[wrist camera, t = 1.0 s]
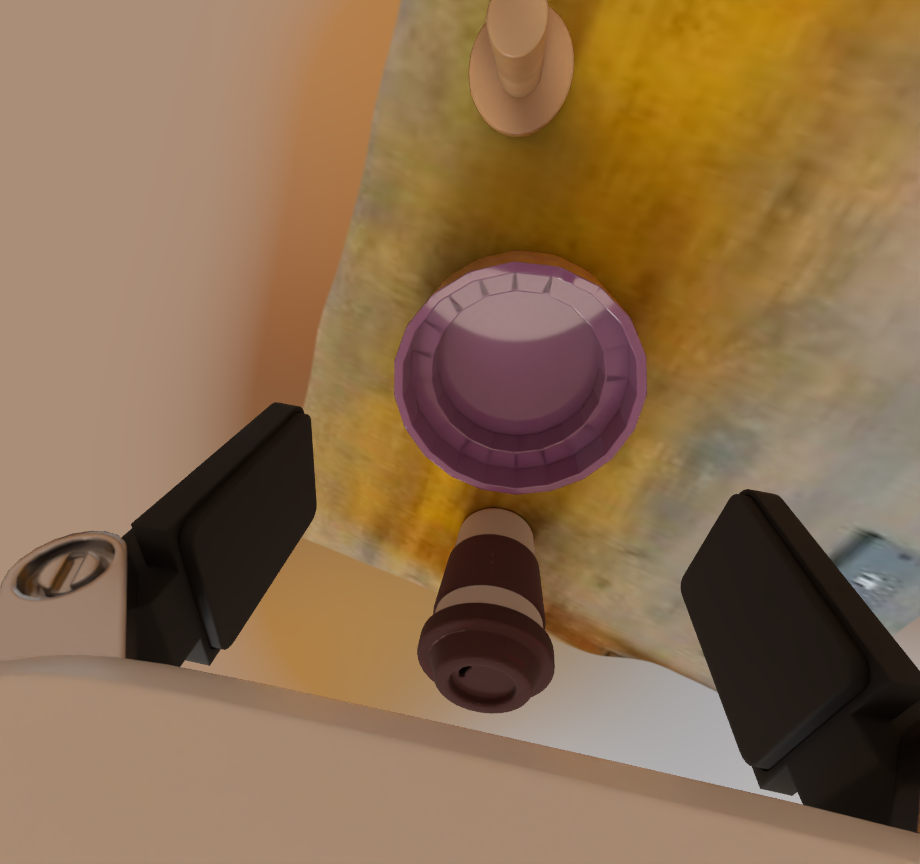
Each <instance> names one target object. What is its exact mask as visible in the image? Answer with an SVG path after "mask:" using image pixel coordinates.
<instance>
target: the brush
mask: <svg viewBox="0 0 920 864" xmlns="http://www.w3.org/2000/svg"><path fill="white" fill-rule="evenodd" d="M573 71H574V50H573V44H572V40H571V37H570V33H569V31H568V29H567V27H566V25H565V23H564V21H563V20H562V18H561V17H560V16H559V15H558V14H557V12H555V11H554V10H553V9H552V8H551V7H549V6H548V1H547V0H490V2H489V6H488V10H487V18H486V23H485V24H484V25H483V27H482V28H481V30H480V32H479V34H478V36H477V38H476V40H475V43H474V45H473V48H472V52H471V56H470V63H469V84H470V91H471V94H472V98H473V101H474V103H475V106H476V108H477V109H478V111H479V113H480V115H481V116H482V118H483V119H484V120H485V122H486V123H487V124H488V125H489V126H490V127H491V128H493V129H494V130H495V131H497V132H499V133H501V134H503V135H506V136H511V137H523V136H528V135H531V134H533V133H536V132H538V131H539V130H541V129H543V128H544V127H545V126H546V125H548V124H549V123H550V122H551V121H552V120H553V118H554V117H555V116H556V115H557V113H558V112H559V110H560V109H561V107H562V105H563V103H564V101H565V99H566V97H567V94H568V91H569V89H570V86H571V82H572V78H573Z"/></svg>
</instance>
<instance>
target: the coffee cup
mask: <svg viewBox="0 0 920 864" xmlns="http://www.w3.org/2000/svg"><path fill="white" fill-rule="evenodd" d="M417 655H418V660H419V663H420V665H421V667H422V669H423V671H424V672H425V673H426V674H427V676H428V677H429V678H430V679H431V680H432V681H434V682H435V684H436V687H437V688H438V690H439V691H440V693H441V694H442V695H443V696H444V697H446V698H447V699H448V700H449V701H451V702H453V703H454V704H456V705H458V706H460V707H463V708H466V709H468V710H472V711H476V712H482V713H504V712H509V711H512V710H515V709H518V708H520V707H522V706H523V705H524V704H525V703H526V702H527V701H528V700H529V699H530V697H533V696H535V695H536V694H538V693H540V692H541V691H543V690H544V689H545V688H546V687H547V686H548V684H549V683H550V682H551V680H552V677H553V675H554V667H555V665H554V650H553V645H552V642H551V640H550V638H549V636H548V634H547V633H546V631H545V614H544V605H543V597H542V588H541V579H540V571H539V565H538V562H537V559H536V557H535V548H534V539H533V534H532V531H531V529H530V527H529V525H528V524H527V523H526V522H525V521H524V520H523V519H522V518H521V517H520V516H518V515H517V514H515V513H513V512H510V511H507V510H503V509H495V508H491V509H483V510H480V511H477V512H475V513H473V514H472V515H470V516H469V517H468V518H467V519H466V520H465V521H464V522H463V524H462V526H461V528H460V531H459V534H458V538H457V541H456V544H455V548H454V549H453V550H452V552H451V554H450V556H449V559H448V563H447V566H446V569H445V572H444V576H443V579H442V582H441V585H440V589H439V592H438V595H437V598H436V602H435V605H434V611H433V615H432V616H431V617H430V618H429V619H428V620H427V622H426V623H425V625H424V627H423V629H422V632H421V635H420V640H419V644H418V650H417Z"/></svg>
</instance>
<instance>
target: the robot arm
mask: <svg viewBox="0 0 920 864" xmlns="http://www.w3.org/2000/svg"><path fill="white" fill-rule="evenodd" d="M315 512H316V489H315V474H314V459H313V444H312V429H311V418H310V416H309V415H307V414H304V411H303V409H302V408H301V407H299V406H293V405H288V404H283V403H273V404H271V405H270V406H269V407H268V408H266V409H265V410H264V411H263V412H262V413H261V414H260V415H258V416H257V417H256V418H255V419H254V420H252V421H251V422H250V423H249V424H248V425H247V426H245V427H244V428H243V429H242V430H241V431H240V432H238V433H237V434H236V435H235V436H234V437H232V438H231V439H230V440H229V441H228V442H227V443H225V444H224V445H223V446H222V447H221V448H220V449H218V450H217V451H216V452H215V453H214V454H213V455H211V456H210V457H209V458H208V459H207V460H206V461H204V463H202V464H201V465H200V466H199V467H197V468H196V469H195V470H194V471H193V472H191V473H190V474H189V475H188V476H187V477H186V478H185V479H183V480H182V481H181V482H180V483H179V484H178V485H176V486H175V487H174V488H173V489H172V490H171V491H169V492H168V493H167V494H166V495H165V496H163V497H162V498H161V499H160V500H159V501H157V502H156V503H155V504H154V505H153V506H152V507H151V508H149V509H148V510H147V511H146V512H145V513H143V514H142V515H141V516H140V517H139V518H138V519H136V520H135V521H134V522H133V523H132V524H131V526H132V529H131V530H130V531H128V533H126V534H125V535H124V536H123V537H122V538H120V537H119V536H118V535H116V534H113V533H110V532H106V531H88V532H81V533H75V534H71V535H67V536H65V537H61V538H58V539H54V540H52V541H50V542H48V543H46V544H44V545H42V546H40V547H37V548H36V549H34V550H33V551H32V552H30V553H29V554H27V555H25V556H24V557H22V558H21V559H20V560H19V561H18V562H17V563H16V564H15V565H14V566H13V567H12V568H11V569H10V570H8V572H7V574H6V576H5V577H4V579H3V581H2V583H1V586H0V864H920V671H919V670H918V668H917V667H916V666H915V665H914V663H913V662H912V661H911V660H910V658H909V657H908V656H907V655H906V653H905V652H904V651H903V650H902V648H901V647H900V646H899V644H898V643H897V642H896V641H895V640H894V638H893V637H892V636H891V634H890V633H889V632H888V631H887V629H886V628H885V627H884V626H883V624H882V623H881V622H880V621H879V619H878V618H877V617H876V616H875V614H874V613H873V612H872V611H871V609H870V608H869V607H868V606H867V604H866V603H865V602H864V601H863V599H862V598H861V597H860V596H859V594H858V593H857V592H856V591H855V589H854V588H853V587H852V586H851V584H850V583H849V582H848V581H847V579H846V578H845V577H844V576H843V574H842V573H841V572H840V571H839V569H838V568H837V567H836V566H835V564H834V563H833V562H832V561H831V559H830V558H829V557H828V556H827V554H826V553H825V552H824V551H823V549H822V548H821V547H820V546H819V544H818V543H817V542H816V541H815V539H814V538H813V537H812V536H811V534H810V533H809V532H808V531H807V529H806V528H805V527H804V526H803V524H802V523H801V522H800V521H799V519H798V518H797V517H796V516H795V514H794V513H793V512H792V511H791V509H790V508H789V507H788V506H787V504H786V503H785V502H784V501H783V499H782V498H781V497H779V496H778V495H775V494H771V493H766V492H760V491H755V490H749V489H747V490H743V491H742V492H740V493H739V494H735V495H733V496H731V498H730V499H729V500H728V502H727V504H726V506H725V507H724V509H723V511H722V512H721V514H720V516H719V517H718V519H717V521H716V522H715V524H714V526H713V527H712V529H711V531H710V532H709V534H708V536H707V537H706V539H705V541H704V542H703V544H702V546H701V547H700V549H699V551H698V552H697V554H696V556H695V557H694V559H693V561H692V562H691V564H690V566H689V567H688V569H687V571H686V572H685V574H684V576H683V578H682V581H681V593H682V596H683V599H684V602H685V605H686V607H687V610H688V613H689V615H690V618H691V621H692V623H693V626H694V629H695V632H696V634H697V637H698V640H699V642H700V645H701V648H702V651H703V653H704V656H705V659H706V661H707V664H708V667H709V670H710V672H711V675H712V678H713V680H714V683H715V686H716V688H717V691H718V694H719V697H720V699H721V702H722V704H723V707H724V710H725V713H726V716H727V718H728V720H729V723H730V726H731V729H732V732H733V734H734V737H735V740H736V742H737V745H738V748H739V751H740V753H741V755H742V757H743V759H744V760H745V762H746V763H747V764H749V765H750V766H752V768H753V771H754V774H755V776H756V779H757V781H758V784H759V786H760V789H765V790H769V791H774V792H778V793H782V794H787V795H791V796H792V795H794V794H795V793H796V792H798V794H799V796H800V799H801V801H802V803H803V805H802V804H798V803H793V802H789V801H785V800H780V799H776V798H772V797H767V796H763V795H759V794H754V793H750V792H745V791H741V790H737V789H732V788H728V787H723V786H719V785H715V784H711V783H706V782H702V781H697V780H693V779H689V778H684V777H680V776H676V775H671V774H667V773H663V772H658V771H654V770H650V769H645V768H641V767H637V766H632V765H628V764H623V763H619V762H614V761H610V760H606V759H601V758H596V757H592V756H588V755H583V754H579V753H574V752H570V751H565V750H561V749H557V748H552V747H548V746H543V745H539V744H534V743H530V742H526V741H521V740H517V739H512V738H508V737H503V736H499V735H494V734H490V733H485V732H481V731H476V730H472V729H467V728H463V727H459V726H454V725H450V724H445V723H441V722H436V721H432V720H427V719H422V718H418V717H414V716H409V715H404V714H400V713H395V712H391V711H386V710H381V709H377V708H372V707H368V706H363V705H358V704H354V703H349V702H345V701H340V700H336V699H331V698H326V697H321V696H317V695H313V694H308V693H303V692H299V691H294V690H290V689H285V688H281V687H276V686H272V685H267V684H262V683H257V682H252V681H247V680H242V679H237V678H232V677H227V676H222V675H217V674H212V673H207V672H202V671H197V670H191V669H187V668H181V667H180V666H181V665H182V663H183V662H184V661H185V660H187V661H191V662H196V663H200V664H205V665H209V666H210V664H211V663H212V661H213V660H214V658H215V657H216V655H217V654H218V652H219V651H220V649H224V650H225V649H227V648H229V647H230V646H231V645H232V644H233V642H234V641H235V639H236V638H237V636H238V635H239V633H240V632H241V630H242V628H243V627H244V625H245V624H246V622H247V621H248V619H249V618H250V616H251V615H252V613H253V611H254V610H255V608H256V607H257V605H258V604H259V602H260V601H261V599H262V597H263V596H264V594H265V593H266V591H267V590H268V588H269V587H270V585H271V584H272V582H273V580H274V579H275V577H276V576H277V574H278V572H279V571H280V569H281V568H282V567H283V565H284V563H285V562H286V560H287V559H288V557H289V556H290V554H291V553H292V551H293V550H294V548H295V546H296V545H297V543H298V542H299V540H300V539H301V537H302V536H303V534H304V533H305V531H306V529H307V528H308V526H309V525H310V523H311V522H312V520H313V518H314V515H315Z"/></svg>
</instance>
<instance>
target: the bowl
mask: <svg viewBox="0 0 920 864" xmlns="http://www.w3.org/2000/svg"><path fill="white" fill-rule="evenodd" d="M394 395H395V399H396V402H397V405H398V408H399V411H400V414H401V417H402V420H403V423H404V426H405V428H406V430H407V431H408V433H409V434H410V436H411V437H412V438H413V440H414V441H415V443H416V444H417V445H418V447H419V448H420V450H421V451H422V452H423V454H424V455H425V456H426V457H427V458H429V459H430V460H431V461H432V462H434V463H435V464H436V465H437V466H439V467H440V468H441V469H443V470H444V471H445V472H446V473H448V474H449V475H450V476H452V477H454V478H456V479H459V480H461V481H463V482H466V483H468V484H470V485H473V486H475V487H477V488H480V489H483V490H489V491H496V492H502V493H509V494H526V493H536V492H547V491H552V490H555V489H558V488H560V487H563V486H566V485H569V484H571V483H574V482H577V481H579V480H582V479H584V478H586V477H587V476H589V475H590V474H591V473H593V472H594V471H596V470H597V469H598V468H600V467H601V466H603V465H604V464H605V463H607V462H608V461H610V460H611V459H612V458H613V457H614V456H615V454H616V453H617V452H618V450H619V449H620V448H621V447H622V445H623V444H624V443H625V441H626V440H627V439H628V437H629V436H630V435H631V434H632V432H633V431H634V429H635V427H636V424H637V421H638V419H639V416H640V413H641V410H642V407H643V404H644V401H645V398H646V395H647V370H646V354H645V351H644V349H643V346H642V344H641V342H640V339H639V337H638V334H637V332H636V330H635V327H634V325H633V322H632V320H631V318H630V316H629V315H628V314H627V313H626V311H625V310H624V309H623V308H622V306H621V305H620V304H619V303H618V301H617V300H616V299H615V298H614V296H613V295H612V294H611V293H610V292H609V291H608V290H607V289H606V288H605V287H604V286H603V285H602V284H601V283H600V282H599V281H598V280H597V279H596V278H595V276H594V275H593V274H592V273H591V272H589V271H588V270H586V269H584V268H582V267H580V266H578V265H576V264H574V263H572V262H570V261H568V260H566V259H564V258H561V257H559V256H557V255H554V254H548V253H539V252H530V251H521V250H514V251H509V252H505V253H501V254H496V255H492V256H488V257H483V258H479V259H477V260H475V261H474V262H472V263H470V264H469V265H467V266H466V267H464V268H462V269H461V270H459V271H458V272H456V273H454V274H453V275H451V276H449V277H448V278H447V279H446V280H445V281H444V282H443V283H442V284H441V285H440V286H439V287H438V289H437V290H436V291H435V292H434V293H433V294H432V295H431V296H430V298H429V299H428V300H427V301H426V303H425V304H424V305H423V306H422V308H421V309H420V310H419V311H418V312H417V314H416V315H415V316H414V317H413V319H412V320H411V321H410V322H409V323H408V325H407V327H406V330H405V332H404V335H403V338H402V341H401V344H400V346H399V349H398V352H397V355H396V358H395V375H394Z"/></svg>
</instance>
